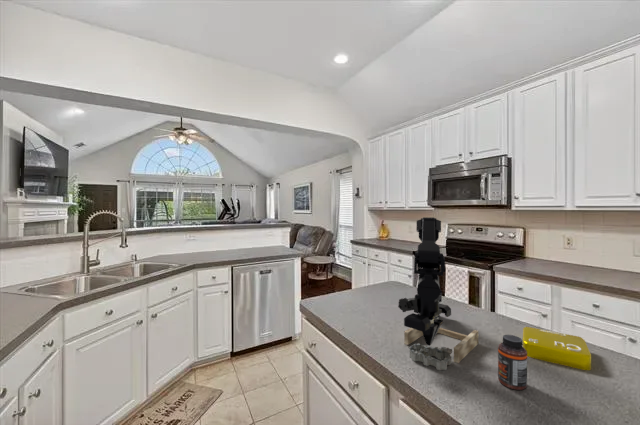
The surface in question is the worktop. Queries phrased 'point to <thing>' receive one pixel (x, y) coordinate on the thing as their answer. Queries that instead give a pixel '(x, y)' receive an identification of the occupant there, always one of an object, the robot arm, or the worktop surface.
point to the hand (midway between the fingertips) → (428, 344)
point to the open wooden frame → (460, 348)
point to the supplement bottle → (512, 363)
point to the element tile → (557, 348)
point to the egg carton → (425, 353)
